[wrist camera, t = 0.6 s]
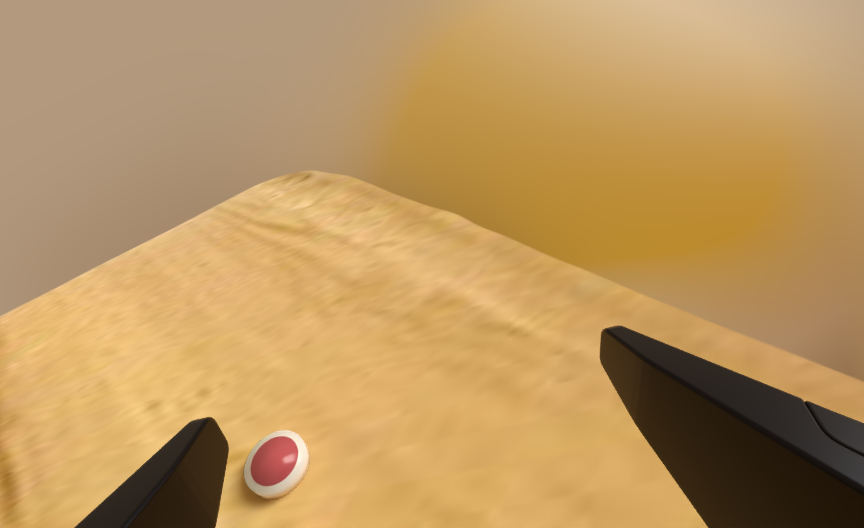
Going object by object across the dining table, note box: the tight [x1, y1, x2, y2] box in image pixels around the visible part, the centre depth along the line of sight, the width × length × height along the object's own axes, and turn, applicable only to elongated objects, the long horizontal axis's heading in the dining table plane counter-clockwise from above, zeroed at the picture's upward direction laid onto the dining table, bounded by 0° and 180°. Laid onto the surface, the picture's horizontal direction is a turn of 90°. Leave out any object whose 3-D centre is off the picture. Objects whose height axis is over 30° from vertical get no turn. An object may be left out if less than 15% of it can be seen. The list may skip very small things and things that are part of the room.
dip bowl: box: [244, 430, 310, 499], centre depth 23 cm, size 4×4×1 cm
